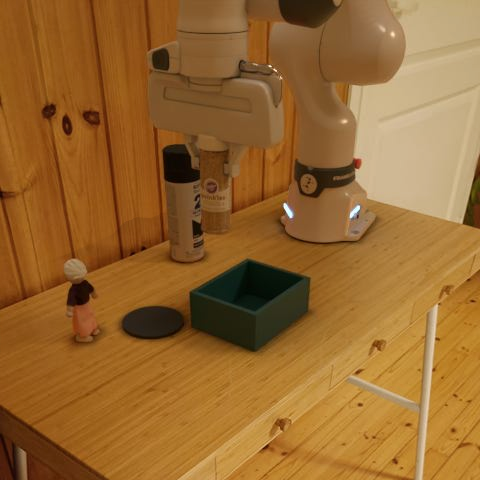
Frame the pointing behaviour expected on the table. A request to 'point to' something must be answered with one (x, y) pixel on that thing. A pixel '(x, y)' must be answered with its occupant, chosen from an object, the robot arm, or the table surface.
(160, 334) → the pad
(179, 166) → the spray can
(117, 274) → the table surface
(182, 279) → the table surface
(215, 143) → the sprinkles bottle
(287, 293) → the basin
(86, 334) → the grandmother figurine
